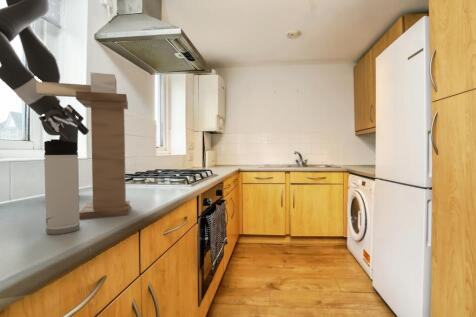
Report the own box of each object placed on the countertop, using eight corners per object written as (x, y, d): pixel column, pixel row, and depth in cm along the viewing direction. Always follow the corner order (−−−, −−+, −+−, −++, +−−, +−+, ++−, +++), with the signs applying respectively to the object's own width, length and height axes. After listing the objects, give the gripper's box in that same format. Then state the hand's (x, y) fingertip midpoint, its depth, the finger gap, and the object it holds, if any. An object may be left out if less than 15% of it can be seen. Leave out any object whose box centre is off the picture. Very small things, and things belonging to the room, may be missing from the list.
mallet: (42, 96, 77) (42, 74, 76) (116, 100, 83) (116, 80, 83) (33, 91, 70) (33, 67, 70) (115, 95, 77) (114, 74, 76)
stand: (87, 208, 84) (85, 100, 83) (129, 205, 88) (127, 102, 87) (78, 218, 71) (75, 91, 70) (128, 214, 75) (126, 94, 74)
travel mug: (40, 236, 56) (37, 139, 56) (52, 227, 63) (50, 140, 62) (74, 233, 58) (72, 139, 57) (83, 225, 64) (81, 140, 64)
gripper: (60, 83, 81) (98, 124, 91) (32, 94, 87) (71, 131, 97) (42, 97, 76) (85, 139, 86) (15, 108, 82) (58, 146, 92)
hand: (78, 135), depth 92 cm, fingers open, 8 cm apart
